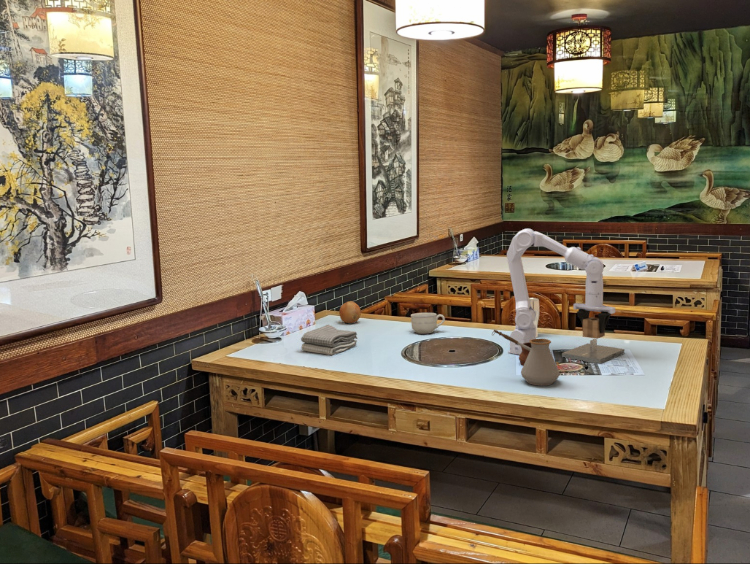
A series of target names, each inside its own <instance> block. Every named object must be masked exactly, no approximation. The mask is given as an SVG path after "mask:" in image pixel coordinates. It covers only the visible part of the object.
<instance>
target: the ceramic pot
mask: <svg viewBox="0 0 750 564" xmlns="http://www.w3.org/2000/svg"><path fill="white" fill-rule="evenodd" d="M523 344H524V345H526V346H528V347H530V348H532V346H531V343H530V342H527V343H523ZM521 348H522V352H521V354H520V355H519V354H518V355H519V356H518V361H519V363H520V365H521V366H524V364H525V361H526V359H527V357H528V354H529V352H530V351H529V350H527V349H525V348H523V347H522V346H521ZM554 361H555V360H554ZM555 363H556V366H557V368H558V367H559V366H560V364H559V362H558V361H555Z"/></svg>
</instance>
